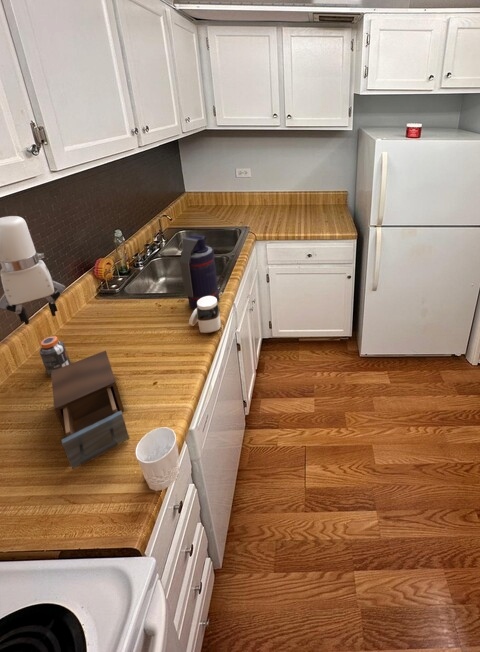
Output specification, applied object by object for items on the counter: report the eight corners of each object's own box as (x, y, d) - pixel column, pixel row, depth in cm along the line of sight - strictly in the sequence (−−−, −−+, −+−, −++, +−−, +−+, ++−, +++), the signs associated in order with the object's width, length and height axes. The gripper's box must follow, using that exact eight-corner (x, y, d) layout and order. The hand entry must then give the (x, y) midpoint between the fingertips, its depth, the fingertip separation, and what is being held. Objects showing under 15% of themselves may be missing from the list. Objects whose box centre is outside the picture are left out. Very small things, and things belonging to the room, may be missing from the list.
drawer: (134, 453, 78) (126, 428, 74) (74, 487, 71) (63, 461, 68) (118, 401, 91) (111, 378, 88) (67, 426, 84) (57, 401, 81)
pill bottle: (75, 366, 104) (65, 337, 100) (54, 379, 99) (42, 349, 95) (64, 359, 106) (54, 331, 102) (43, 372, 102) (32, 343, 97)
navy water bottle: (202, 293, 143) (193, 228, 132) (225, 299, 139) (217, 233, 128) (179, 311, 131) (167, 241, 120) (203, 317, 127) (193, 247, 116)
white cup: (160, 501, 69) (151, 470, 66) (136, 481, 73) (127, 450, 69) (190, 467, 76) (183, 437, 72) (167, 451, 79) (160, 421, 75)
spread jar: (221, 335, 118) (217, 307, 114) (187, 340, 115) (182, 312, 111) (221, 315, 129) (218, 289, 124) (191, 319, 126) (186, 293, 122)
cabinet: (124, 410, 89) (115, 381, 85) (66, 439, 82) (54, 408, 78) (113, 377, 100) (105, 350, 96) (61, 399, 92) (50, 371, 89)
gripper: (58, 249, 97) (75, 301, 103) (-22, 266, 87) (2, 323, 93) (60, 258, 91) (77, 312, 98) (-26, 277, 81) (0, 337, 88)
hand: (40, 317), depth 95 cm, fingers open, 5 cm apart
